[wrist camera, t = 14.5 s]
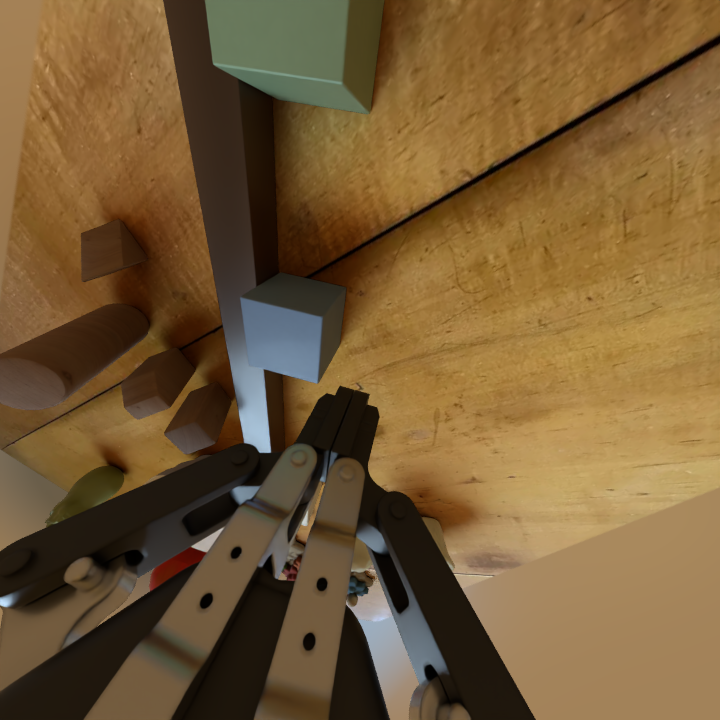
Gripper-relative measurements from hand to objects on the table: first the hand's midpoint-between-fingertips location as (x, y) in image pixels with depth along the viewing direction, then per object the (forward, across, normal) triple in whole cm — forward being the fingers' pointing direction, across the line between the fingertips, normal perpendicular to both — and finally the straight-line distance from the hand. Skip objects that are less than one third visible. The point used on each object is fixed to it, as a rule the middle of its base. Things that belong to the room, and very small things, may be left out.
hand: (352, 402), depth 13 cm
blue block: (+8, +5, 0) cm, 10 cm away
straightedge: (+8, +10, +2) cm, 13 cm away
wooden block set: (+8, +20, +6) cm, 22 cm away
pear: (+8, +41, +40) cm, 58 cm away
